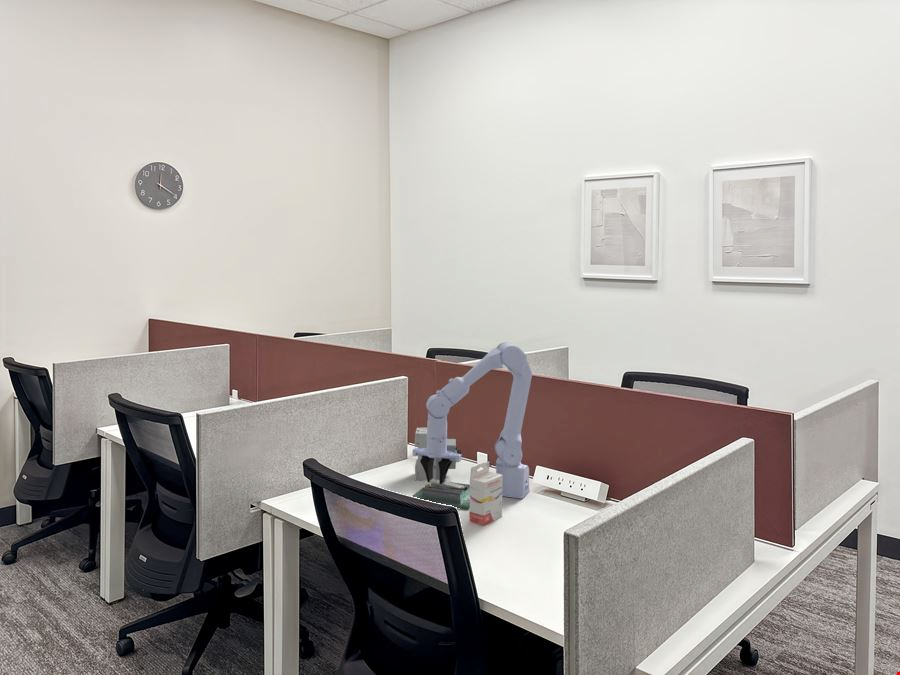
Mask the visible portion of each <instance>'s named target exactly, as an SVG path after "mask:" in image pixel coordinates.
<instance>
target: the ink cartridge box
mask: <svg viewBox="0 0 900 675" xmlns="http://www.w3.org/2000/svg"><path fill="white" fill-rule="evenodd" d="M480 468H481V470H480ZM502 481H503V475H501V474H496V472H491V471H490V461H485V462H483V463H480V464H478V465H475V466H474V465H473V466H471V468H470V475H469V485H470V508H469V522H470V523H474V524H477V525H478V526H479V525H480V526H482V527H483V526H486V525H488V524H491V523H492V522H494V521H496V520H498V519H500V517H501V518H503V496H502Z"/></svg>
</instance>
